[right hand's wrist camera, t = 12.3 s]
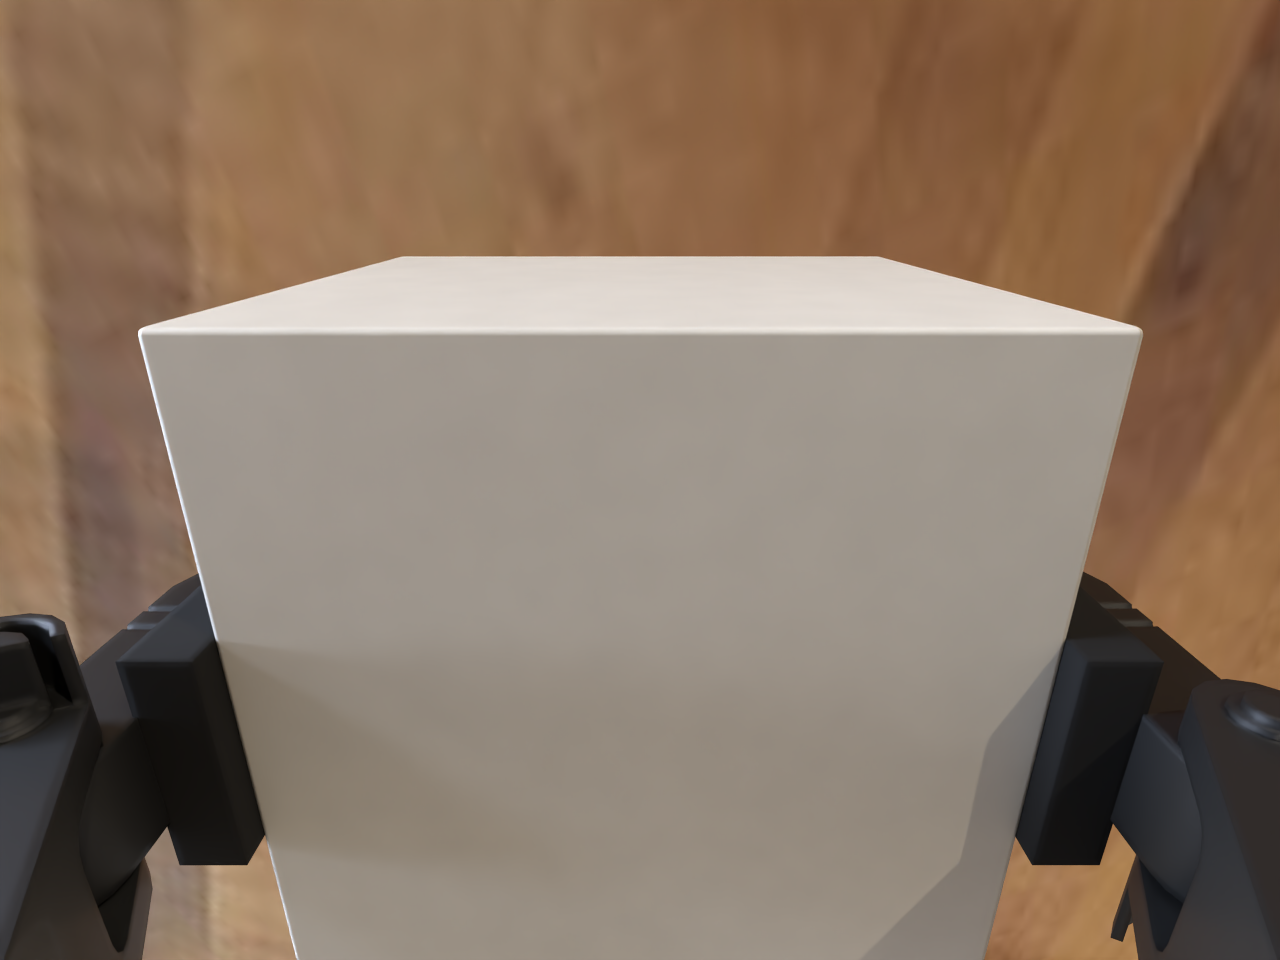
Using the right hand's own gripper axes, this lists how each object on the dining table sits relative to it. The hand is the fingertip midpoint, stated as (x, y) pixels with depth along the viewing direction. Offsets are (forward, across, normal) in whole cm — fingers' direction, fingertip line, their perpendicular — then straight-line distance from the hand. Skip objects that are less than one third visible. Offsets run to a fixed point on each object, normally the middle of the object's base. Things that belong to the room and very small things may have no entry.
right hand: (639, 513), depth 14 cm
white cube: (+1, 0, 0) cm, 1 cm away
